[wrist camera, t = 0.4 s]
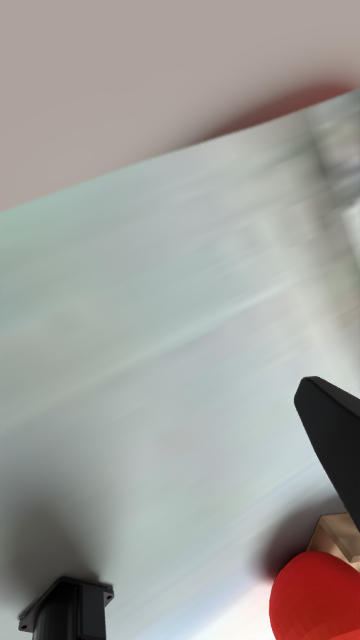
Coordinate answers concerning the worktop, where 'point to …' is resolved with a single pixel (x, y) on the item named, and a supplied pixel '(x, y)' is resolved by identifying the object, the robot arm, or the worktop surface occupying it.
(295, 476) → the worktop surface
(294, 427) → the worktop surface
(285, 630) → the tomato
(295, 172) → the worktop surface
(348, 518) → the tray
